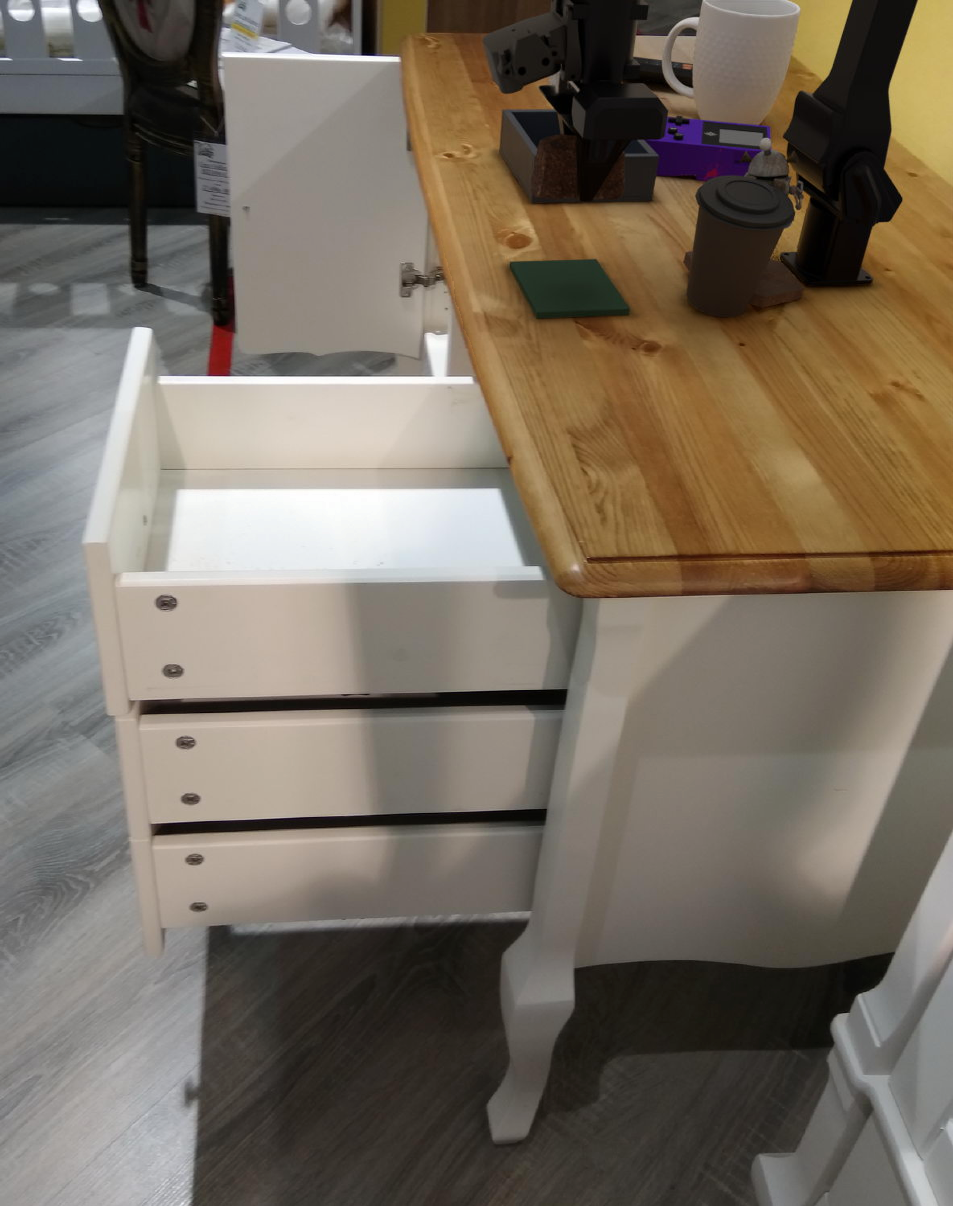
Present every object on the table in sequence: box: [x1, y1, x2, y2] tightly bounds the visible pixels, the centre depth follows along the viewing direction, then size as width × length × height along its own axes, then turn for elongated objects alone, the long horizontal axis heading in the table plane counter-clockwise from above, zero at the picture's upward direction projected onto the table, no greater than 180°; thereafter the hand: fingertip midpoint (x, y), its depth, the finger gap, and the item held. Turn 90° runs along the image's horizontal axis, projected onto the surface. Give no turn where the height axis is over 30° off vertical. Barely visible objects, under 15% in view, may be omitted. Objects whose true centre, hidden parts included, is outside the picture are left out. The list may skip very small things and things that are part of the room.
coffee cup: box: [685, 175, 796, 318], centre depth 96 cm, size 8×8×10 cm
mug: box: [661, 0, 802, 125], centre depth 135 cm, size 15×11×13 cm
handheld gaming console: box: [645, 115, 772, 183], centre depth 126 cm, size 9×5×15 cm
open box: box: [498, 108, 659, 204], centre depth 120 cm, size 15×13×4 cm
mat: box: [508, 258, 631, 320], centre depth 100 cm, size 10×8×1 cm
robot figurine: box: [682, 138, 805, 308], centre depth 99 cm, size 11×9×12 cm
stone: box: [531, 134, 625, 200], centre depth 94 cm, size 8×3×5 cm, turn 99°
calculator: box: [633, 56, 693, 88], centre depth 150 cm, size 9×12×3 cm
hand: (579, 193), depth 95 cm, fingers closed on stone, 3 cm apart
